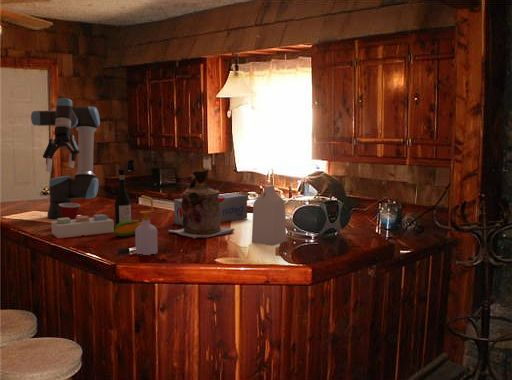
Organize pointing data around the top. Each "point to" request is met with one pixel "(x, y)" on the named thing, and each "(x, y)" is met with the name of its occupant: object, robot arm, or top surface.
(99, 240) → the top surface
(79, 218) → the terracotta block
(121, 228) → the corn
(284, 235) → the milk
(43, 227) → the top surface
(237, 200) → the soda pack
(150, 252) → the soap bottle
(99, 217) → the dusty blue block
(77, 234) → the console
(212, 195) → the cookie jar
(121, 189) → the wine bottle
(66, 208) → the plastic cup
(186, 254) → the top surface
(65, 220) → the sage green block
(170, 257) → the top surface
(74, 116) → the robot arm
